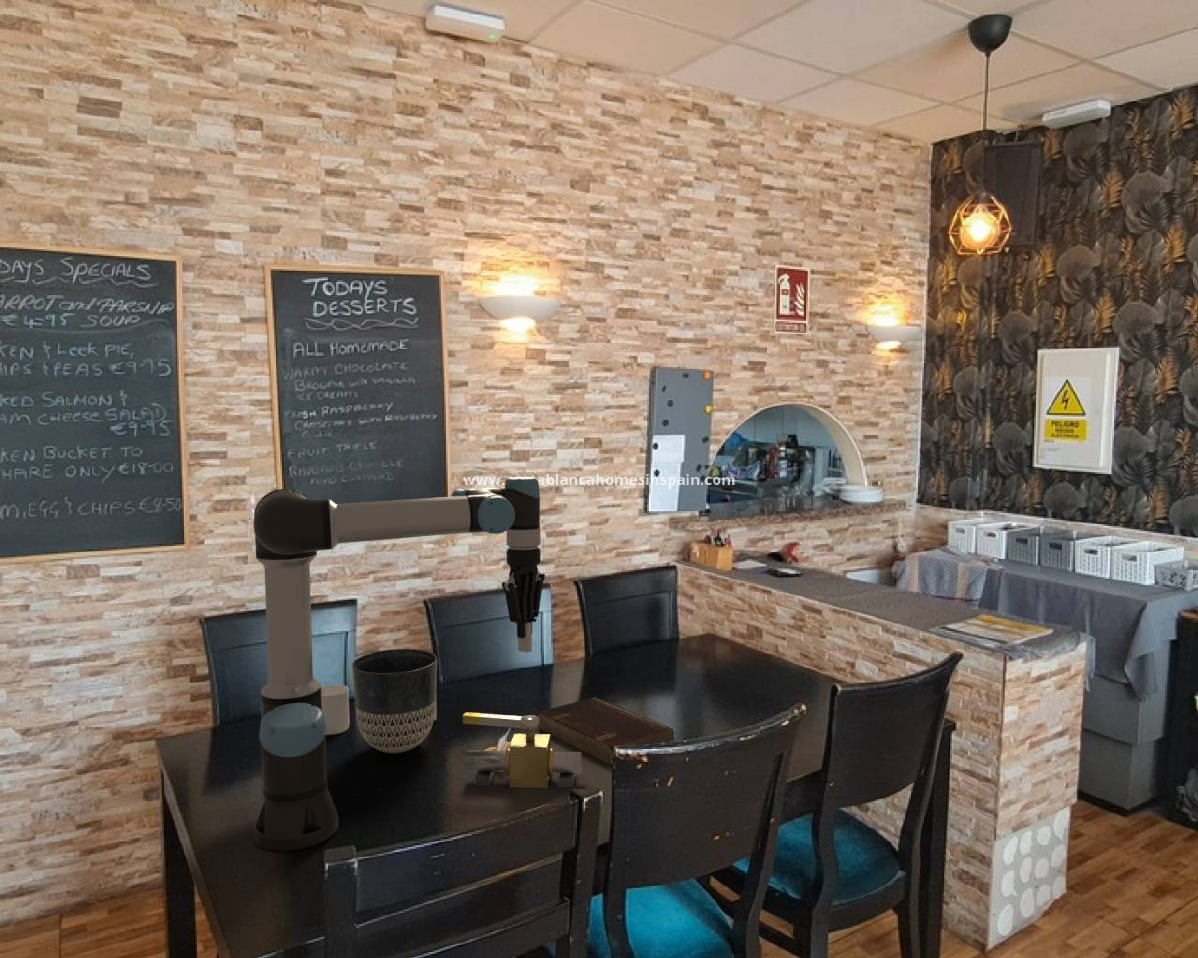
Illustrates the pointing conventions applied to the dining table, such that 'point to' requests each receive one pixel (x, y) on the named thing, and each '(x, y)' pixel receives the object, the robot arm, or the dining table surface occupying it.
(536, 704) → the dining table surface
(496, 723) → the lever
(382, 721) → the planter
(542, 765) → the valve
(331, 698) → the cup
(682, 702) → the dining table surface
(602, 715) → the hardback book
